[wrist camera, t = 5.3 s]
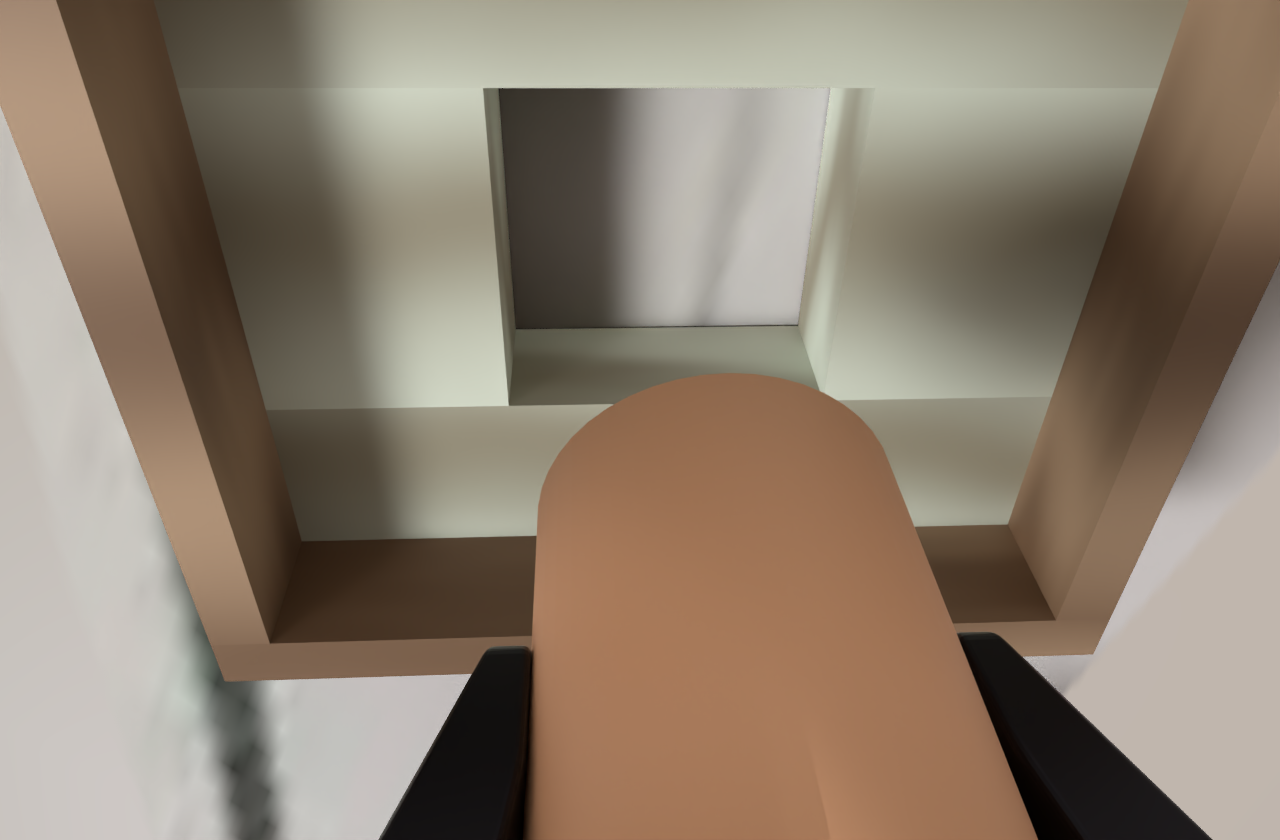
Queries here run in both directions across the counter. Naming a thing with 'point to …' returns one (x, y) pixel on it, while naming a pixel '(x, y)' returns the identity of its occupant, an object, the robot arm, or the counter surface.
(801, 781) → the peg
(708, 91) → the counter surface
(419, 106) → the bore box
